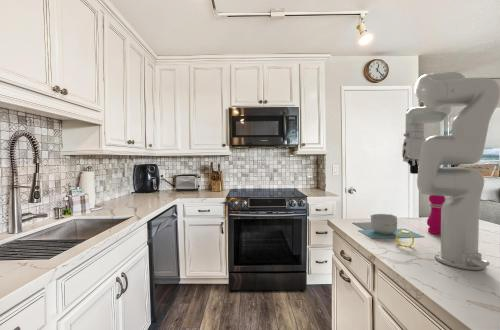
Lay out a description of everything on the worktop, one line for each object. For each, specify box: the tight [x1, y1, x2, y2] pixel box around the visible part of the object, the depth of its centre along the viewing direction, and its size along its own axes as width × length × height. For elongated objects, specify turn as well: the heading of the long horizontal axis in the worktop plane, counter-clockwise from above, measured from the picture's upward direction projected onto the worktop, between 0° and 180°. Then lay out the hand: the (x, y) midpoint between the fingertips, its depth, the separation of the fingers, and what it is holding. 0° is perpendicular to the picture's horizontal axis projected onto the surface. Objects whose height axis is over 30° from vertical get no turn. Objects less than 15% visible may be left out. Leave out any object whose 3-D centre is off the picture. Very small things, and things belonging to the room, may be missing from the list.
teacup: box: [370, 213, 398, 235], centre depth 114 cm, size 14×11×8 cm
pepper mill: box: [426, 195, 446, 236], centre depth 113 cm, size 7×7×20 cm
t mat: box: [352, 221, 425, 240], centre depth 119 cm, size 25×24×1 cm
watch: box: [395, 230, 415, 248], centre depth 97 cm, size 6×3×6 cm, turn 52°
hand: (414, 173), depth 120 cm, fingers closed
